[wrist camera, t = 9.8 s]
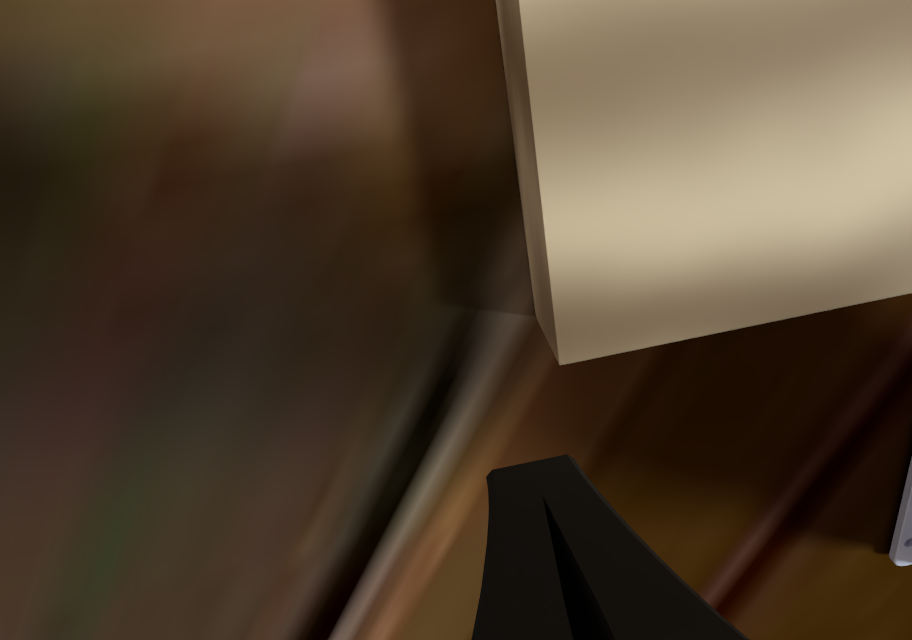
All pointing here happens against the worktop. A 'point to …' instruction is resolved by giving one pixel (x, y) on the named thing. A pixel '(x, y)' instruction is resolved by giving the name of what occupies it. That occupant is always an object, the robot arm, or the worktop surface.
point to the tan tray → (707, 162)
